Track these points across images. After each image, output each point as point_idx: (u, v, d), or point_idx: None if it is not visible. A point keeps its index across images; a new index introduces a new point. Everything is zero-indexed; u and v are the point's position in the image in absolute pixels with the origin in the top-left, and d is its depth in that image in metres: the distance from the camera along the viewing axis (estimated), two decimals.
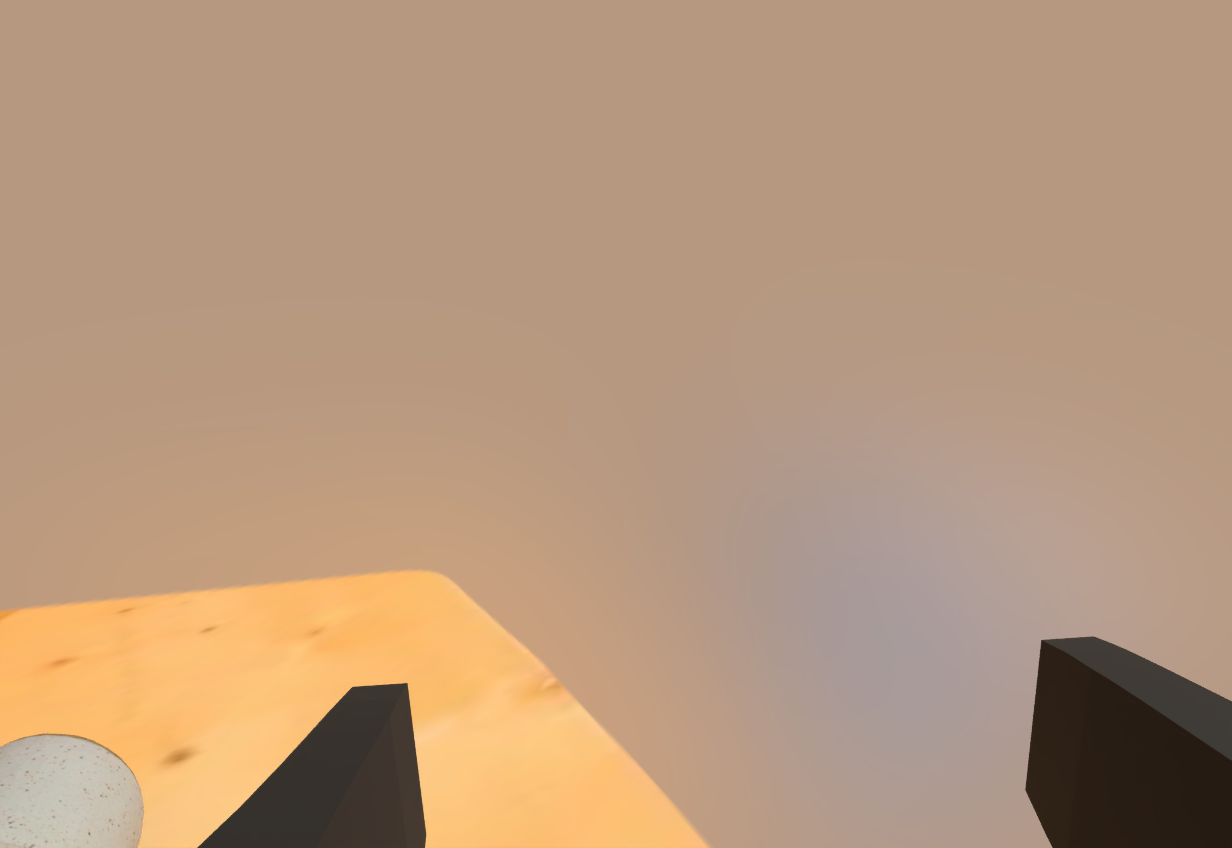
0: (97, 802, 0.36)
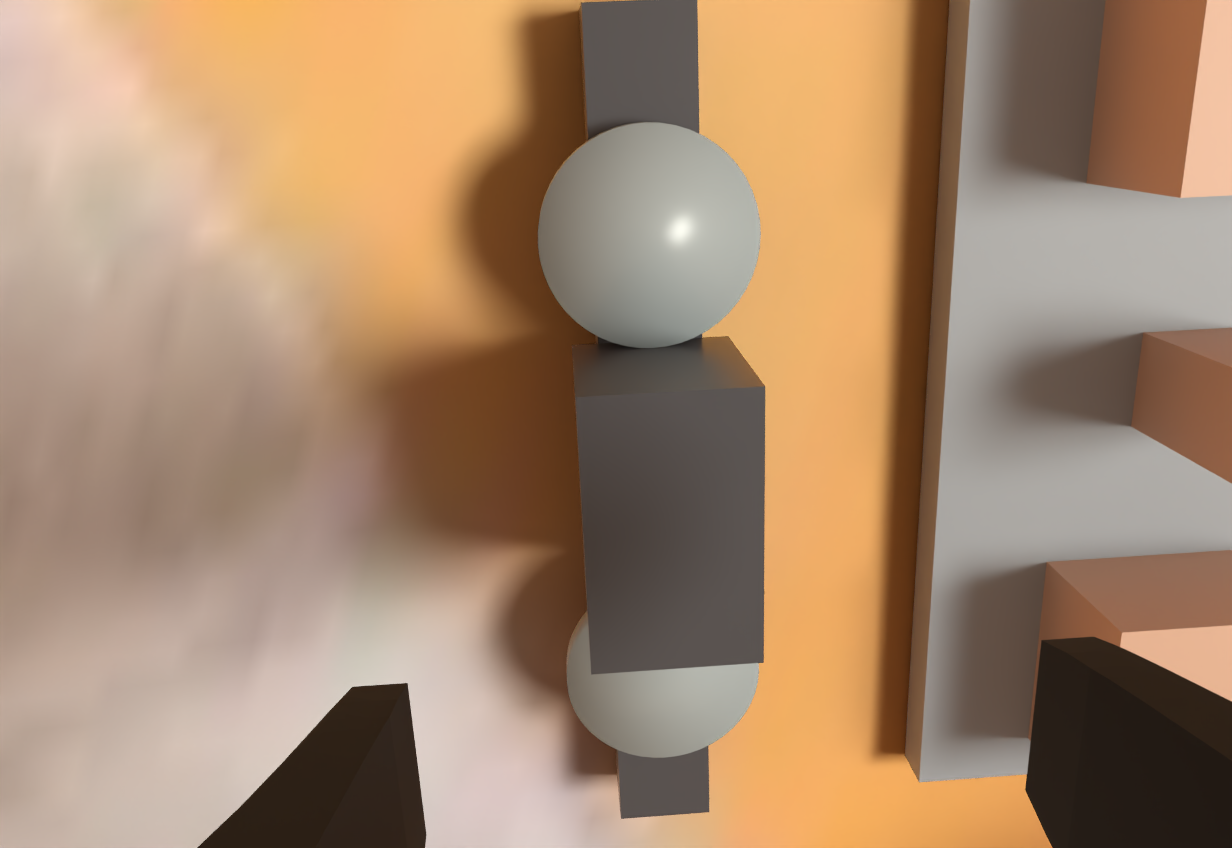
0: None
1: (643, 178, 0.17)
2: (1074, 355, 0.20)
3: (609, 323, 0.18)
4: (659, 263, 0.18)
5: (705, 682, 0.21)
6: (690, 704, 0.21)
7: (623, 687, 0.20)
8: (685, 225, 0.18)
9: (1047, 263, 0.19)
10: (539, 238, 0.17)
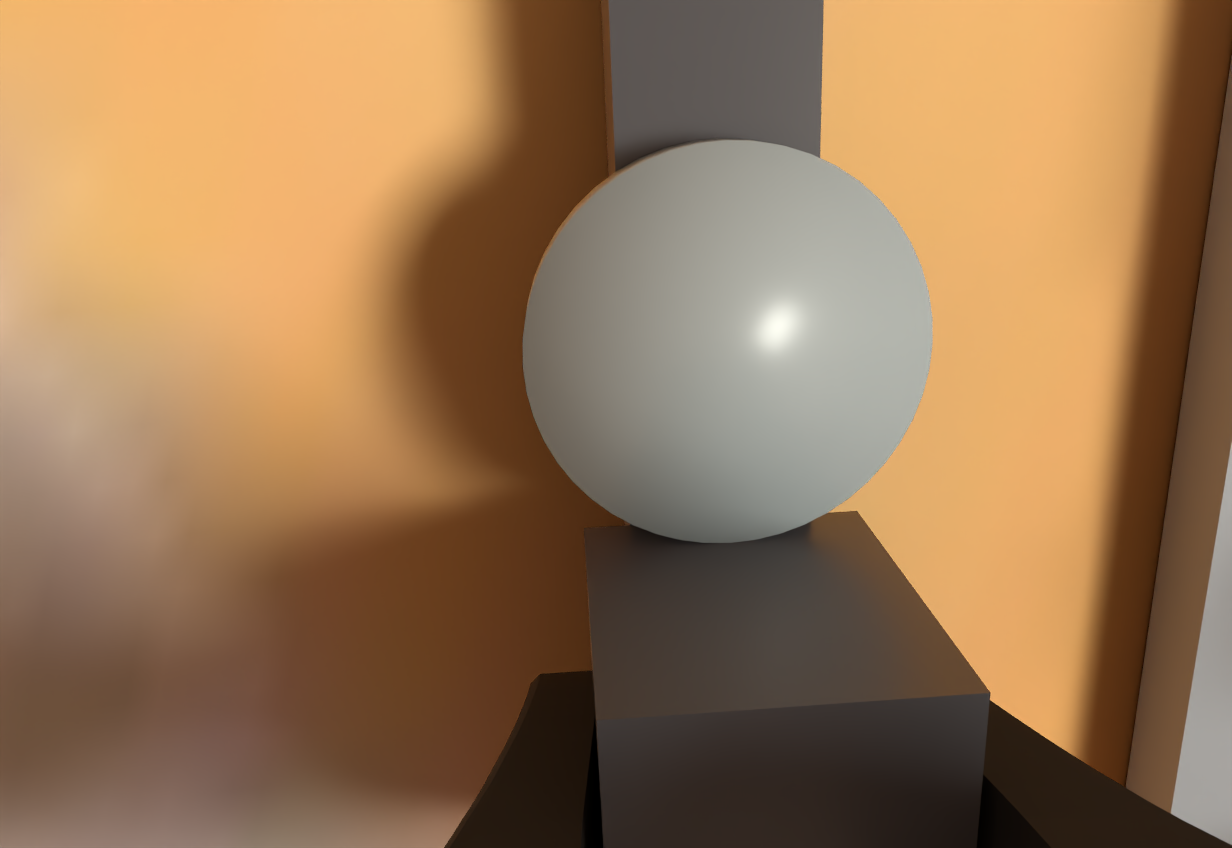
0: None
1: (720, 245, 0.09)
2: None
3: (653, 502, 0.10)
4: (746, 397, 0.10)
5: None
6: None
7: None
8: (795, 330, 0.10)
9: None
10: (525, 355, 0.09)
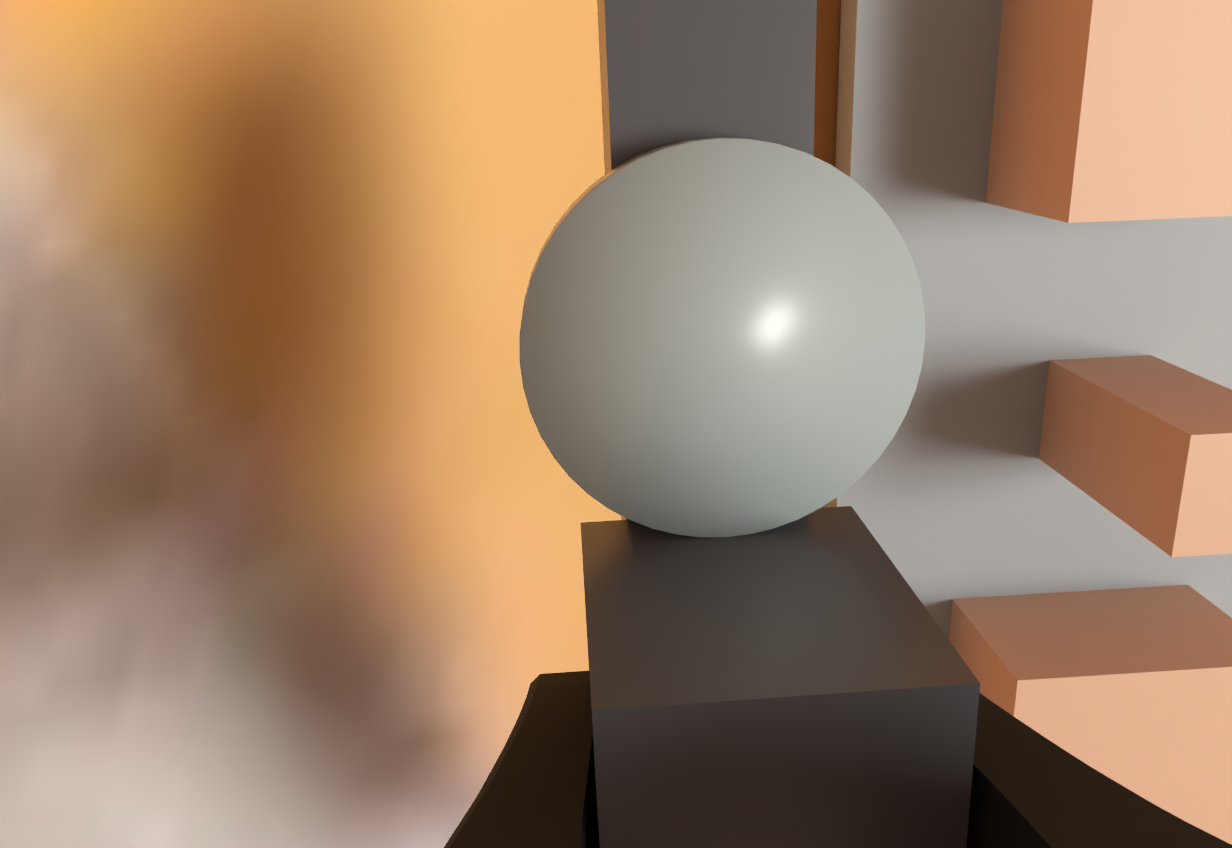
0: None
1: (715, 242, 0.09)
2: (977, 383, 0.19)
3: (649, 496, 0.10)
4: (741, 393, 0.10)
5: None
6: None
7: None
8: (790, 326, 0.10)
9: (946, 286, 0.18)
10: (522, 351, 0.10)
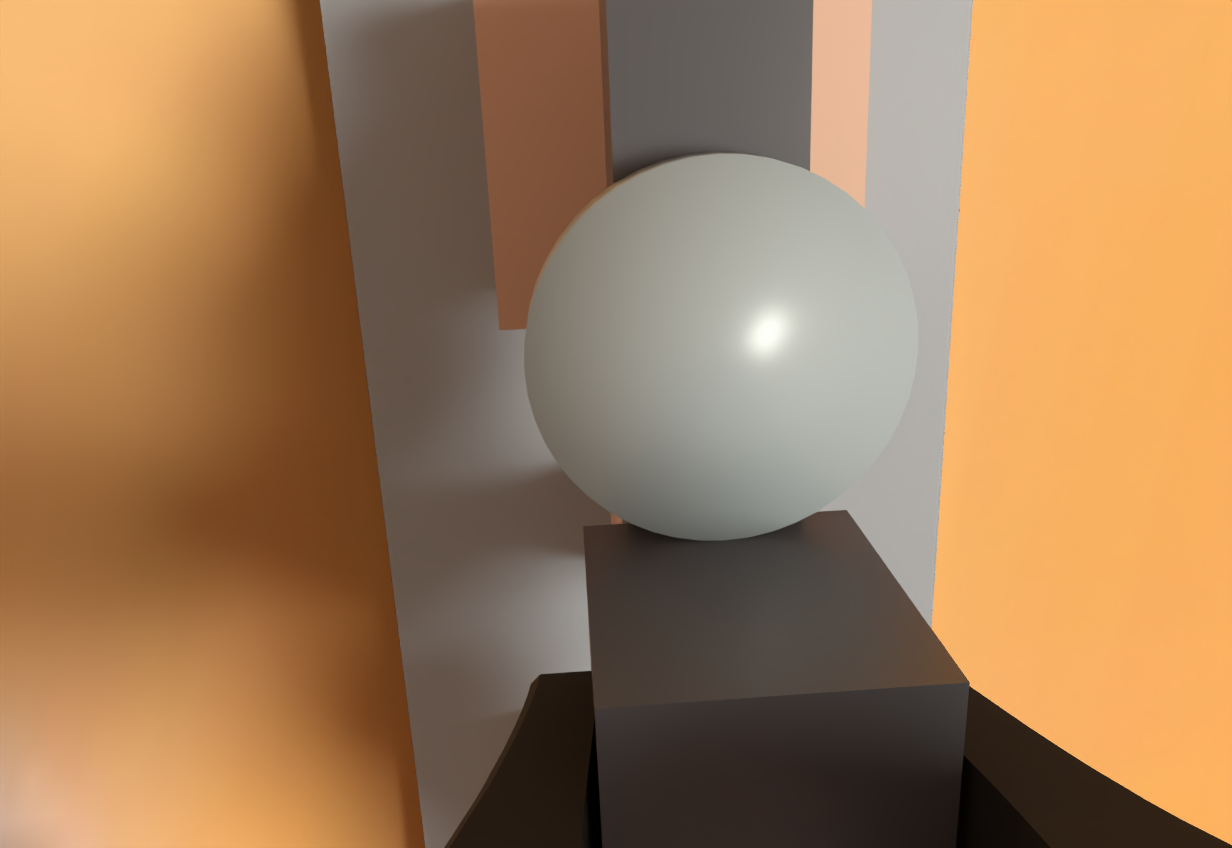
0: None
1: (714, 254, 0.10)
2: (530, 481, 0.17)
3: (649, 501, 0.10)
4: (740, 400, 0.10)
5: None
6: None
7: None
8: (786, 335, 0.10)
9: (479, 379, 0.17)
10: (527, 359, 0.10)
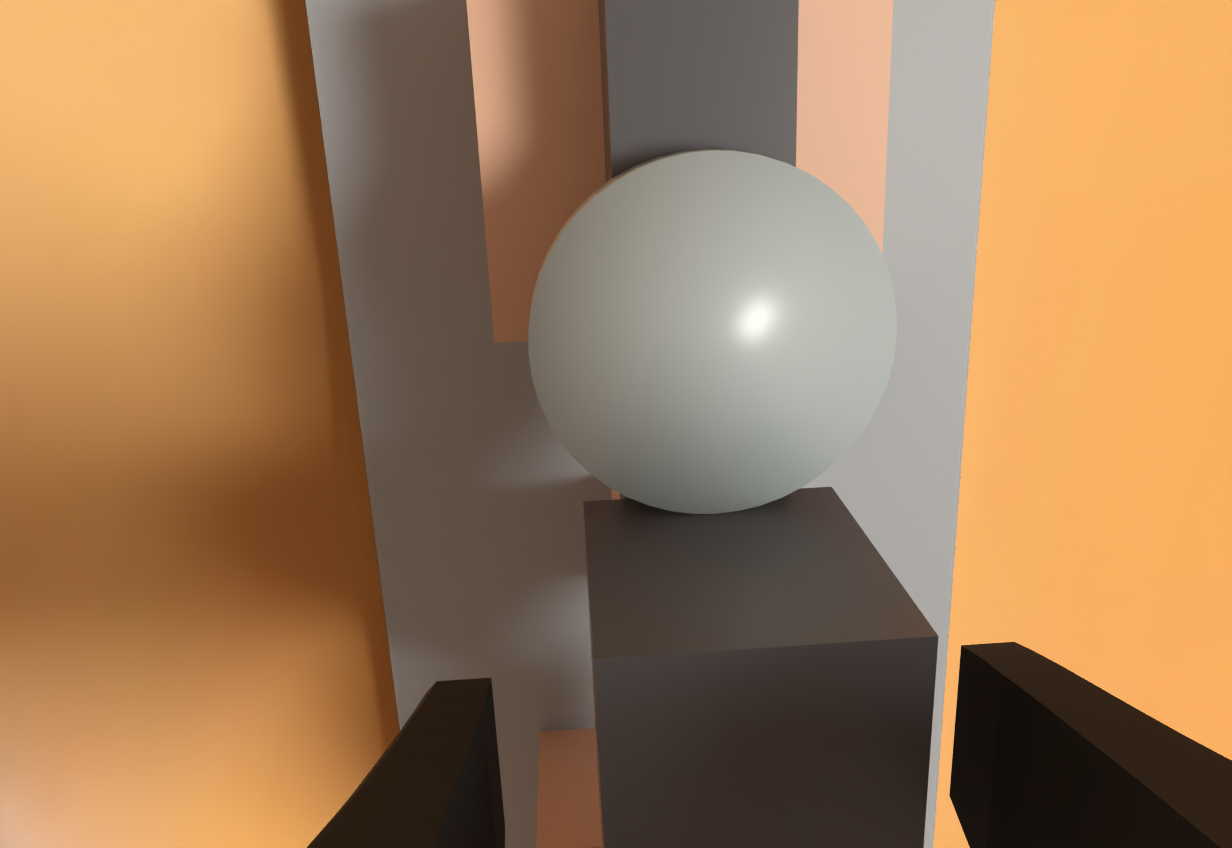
0: None
1: (706, 244, 0.10)
2: (528, 498, 0.17)
3: (645, 476, 0.11)
4: (730, 381, 0.11)
5: None
6: None
7: None
8: (773, 320, 0.11)
9: (474, 391, 0.16)
10: (531, 342, 0.10)
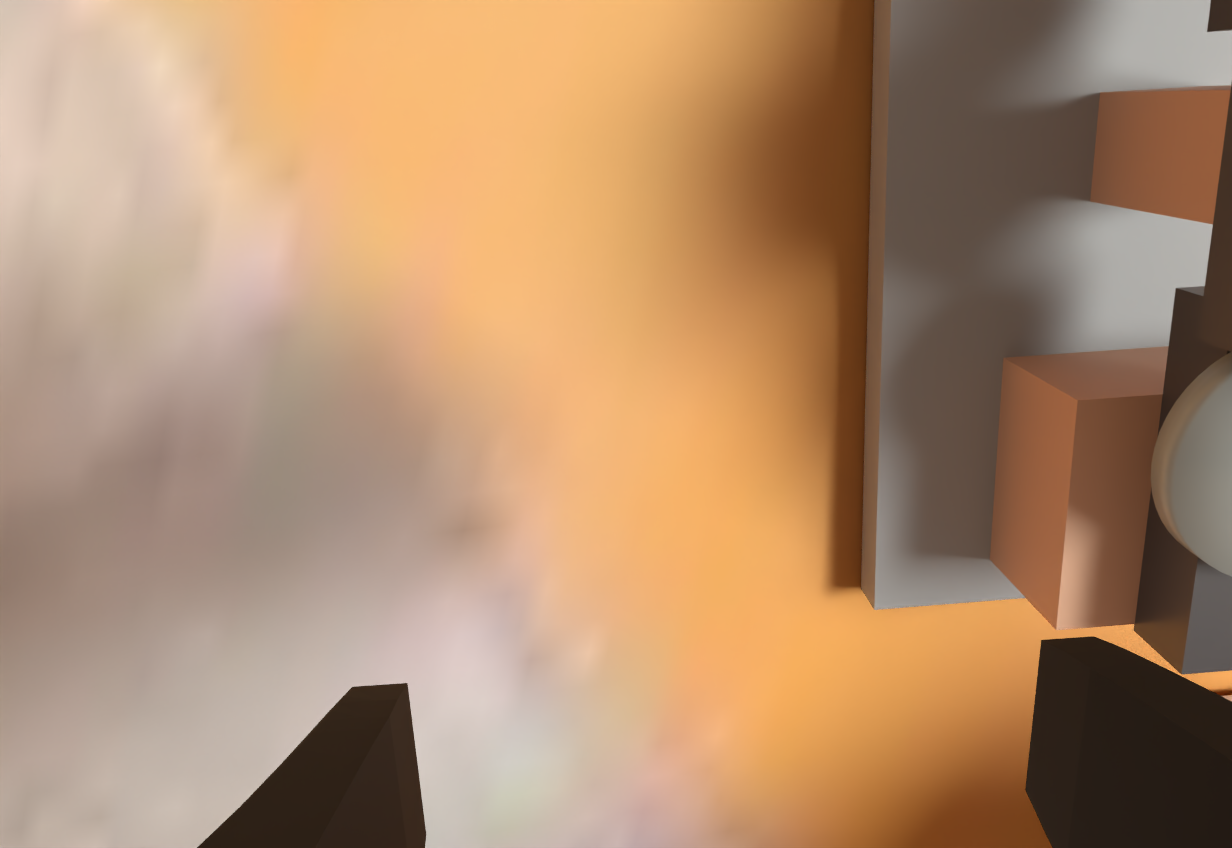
0: None
1: None
2: (1026, 119, 0.18)
3: None
4: None
5: None
6: None
7: None
8: None
9: (993, 11, 0.18)
10: None
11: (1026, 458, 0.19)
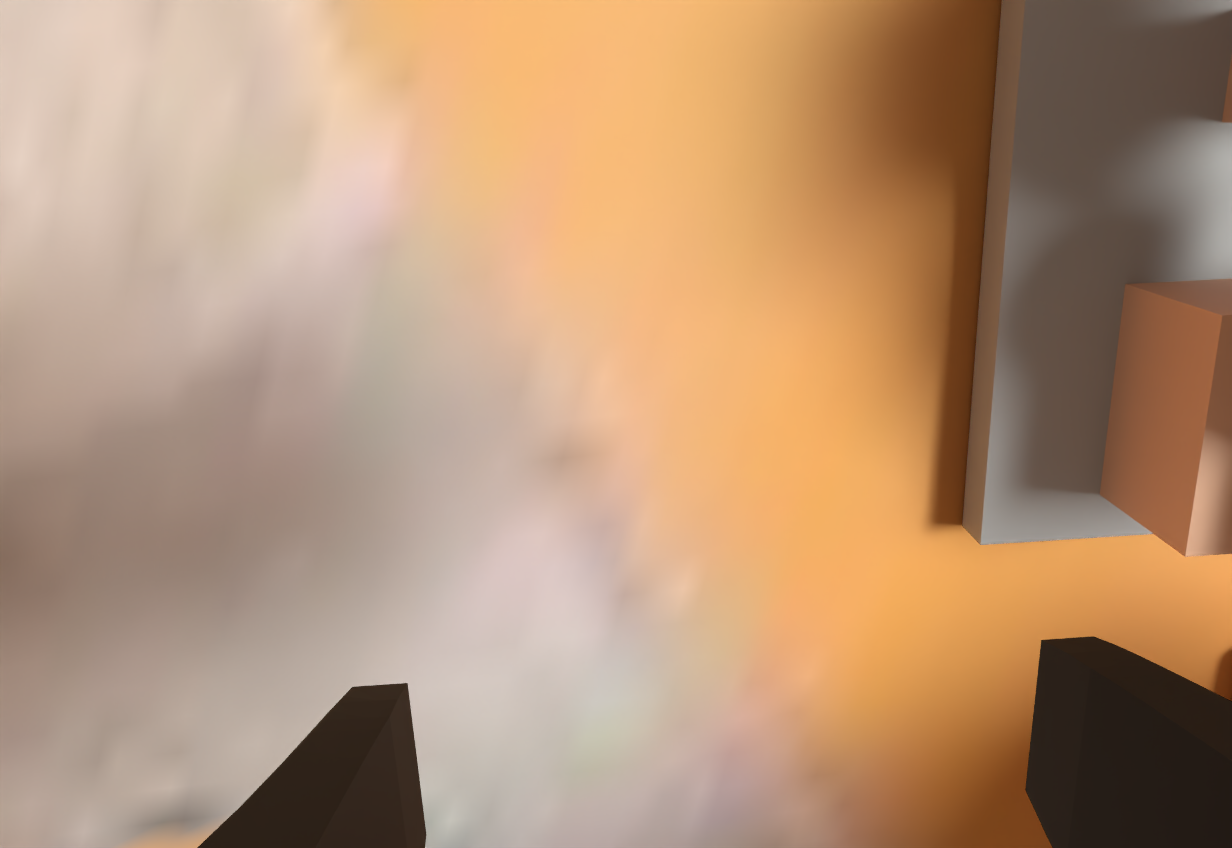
0: None
1: None
2: (1162, 34, 0.18)
3: None
4: None
5: None
6: None
7: None
8: None
9: None
10: None
11: (1152, 384, 0.19)
